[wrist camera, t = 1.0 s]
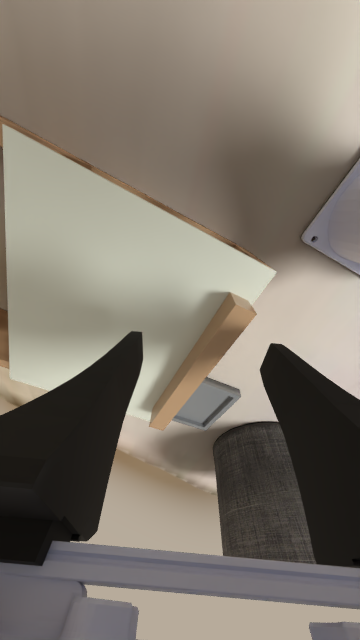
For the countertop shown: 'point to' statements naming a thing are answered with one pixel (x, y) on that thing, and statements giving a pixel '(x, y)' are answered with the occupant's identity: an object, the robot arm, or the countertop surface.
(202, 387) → the tray
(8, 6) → the countertop surface
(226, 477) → the planter
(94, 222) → the lid
